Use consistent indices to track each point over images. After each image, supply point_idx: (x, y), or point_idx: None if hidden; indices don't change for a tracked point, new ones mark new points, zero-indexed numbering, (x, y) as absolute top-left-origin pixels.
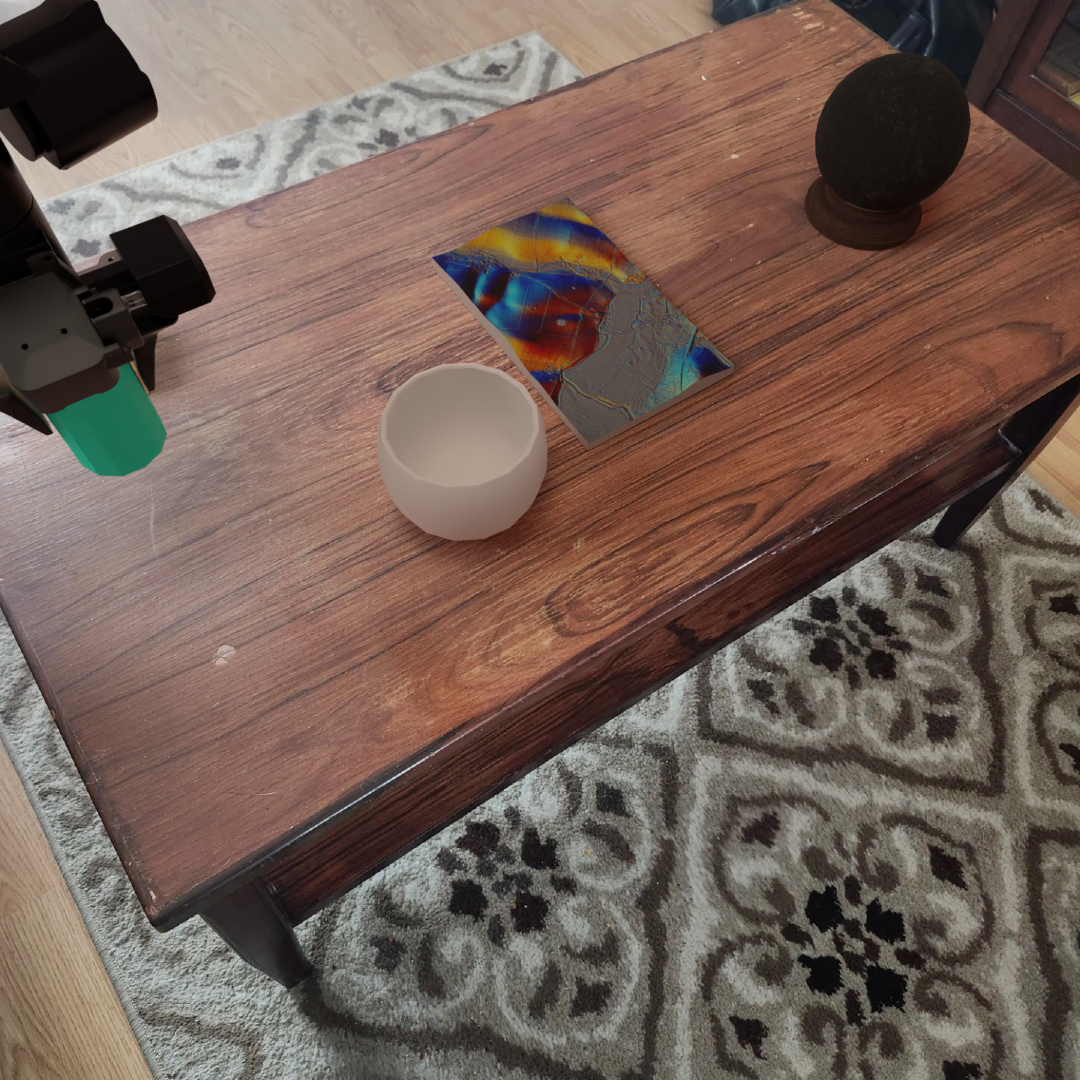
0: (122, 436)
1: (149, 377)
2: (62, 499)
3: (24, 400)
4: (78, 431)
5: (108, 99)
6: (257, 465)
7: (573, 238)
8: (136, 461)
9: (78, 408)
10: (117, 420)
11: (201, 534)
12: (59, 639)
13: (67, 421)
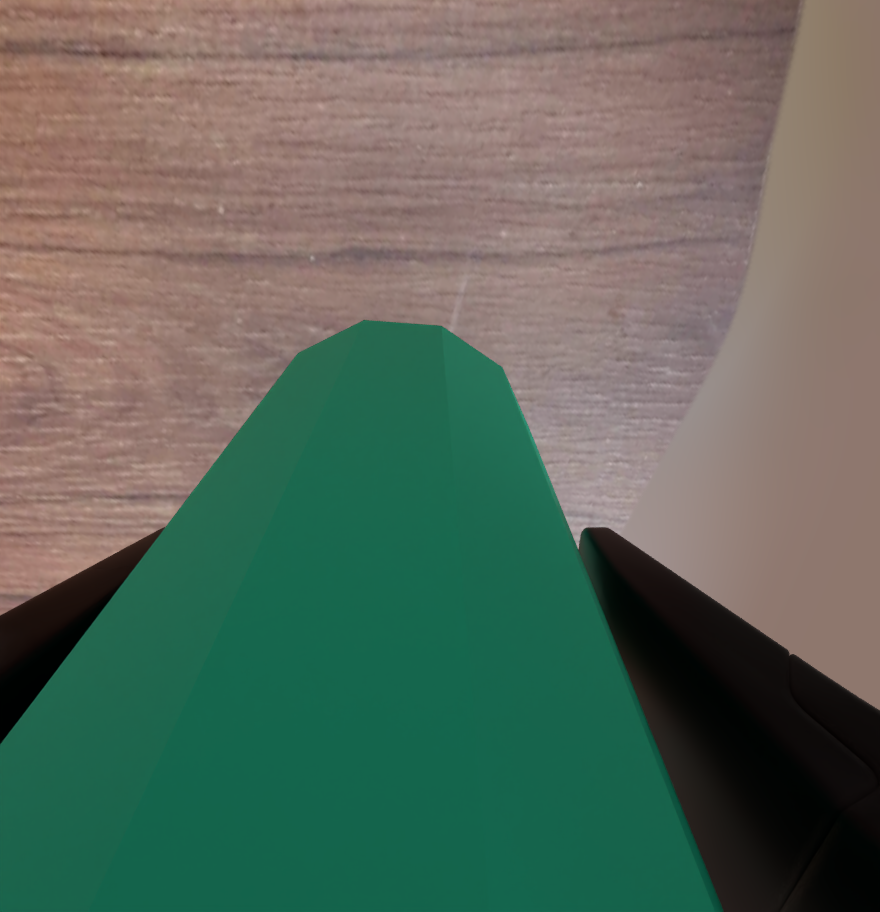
0: (352, 378)
1: (103, 572)
2: (559, 475)
3: (681, 708)
4: (508, 457)
5: None
6: (212, 360)
7: None
8: (375, 331)
9: (453, 526)
10: (314, 418)
11: (368, 261)
12: (714, 175)
13: (538, 510)
